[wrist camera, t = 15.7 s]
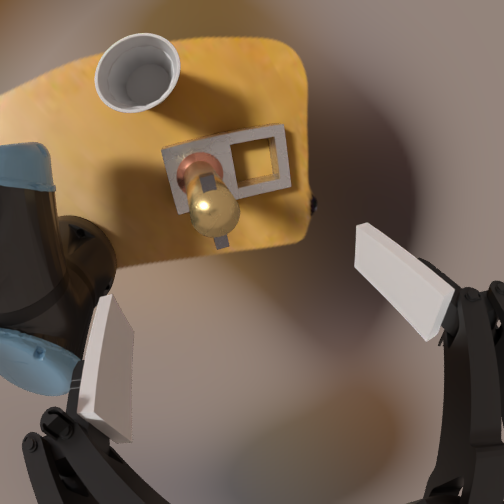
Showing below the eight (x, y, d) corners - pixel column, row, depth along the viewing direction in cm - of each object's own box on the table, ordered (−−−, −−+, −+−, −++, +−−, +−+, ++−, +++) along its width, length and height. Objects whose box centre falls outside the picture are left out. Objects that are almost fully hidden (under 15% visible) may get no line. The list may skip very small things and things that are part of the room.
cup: (189, 92, 31) (196, 81, 20) (137, 125, 31) (120, 130, 21) (161, 47, 26) (156, 18, 16) (109, 80, 26) (81, 67, 16)
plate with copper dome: (177, 207, 38) (178, 215, 35) (162, 147, 33) (161, 150, 30) (283, 181, 40) (291, 187, 38) (275, 123, 36) (284, 124, 33)
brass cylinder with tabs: (178, 156, 31) (181, 183, 20) (210, 148, 32) (232, 170, 20) (190, 203, 35) (200, 255, 23) (219, 195, 35) (246, 242, 24)
